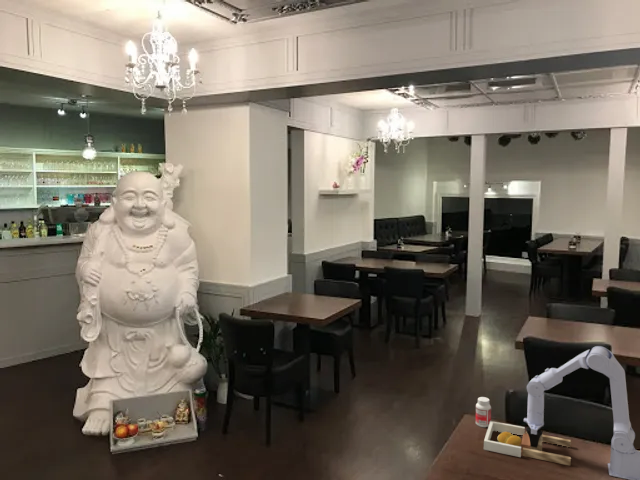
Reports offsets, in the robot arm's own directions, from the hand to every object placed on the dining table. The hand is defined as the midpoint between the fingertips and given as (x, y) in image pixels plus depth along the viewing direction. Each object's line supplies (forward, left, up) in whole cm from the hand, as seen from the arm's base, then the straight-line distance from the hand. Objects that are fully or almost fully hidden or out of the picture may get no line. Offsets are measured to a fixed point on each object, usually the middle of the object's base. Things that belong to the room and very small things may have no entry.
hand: (534, 443), depth 192 cm
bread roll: (+9, 0, -2) cm, 9 cm away
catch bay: (+10, 0, -2) cm, 10 cm away
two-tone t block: (+1, 0, -2) cm, 2 cm away
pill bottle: (+21, -12, -2) cm, 24 cm away
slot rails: (-4, 0, -2) cm, 5 cm away
